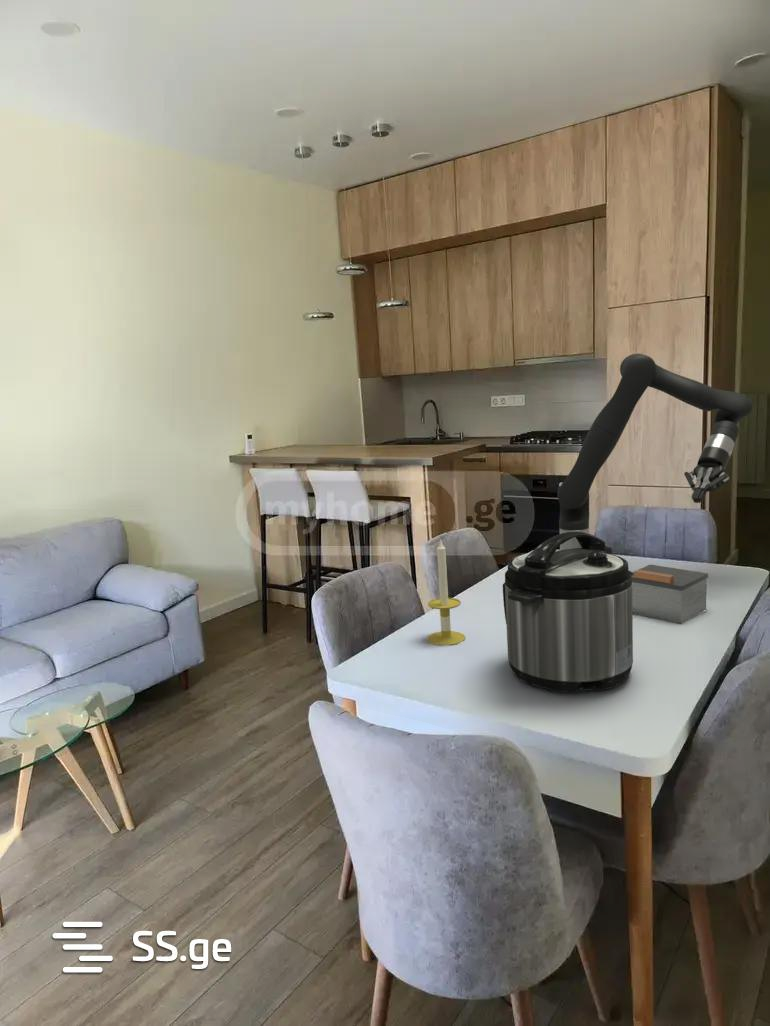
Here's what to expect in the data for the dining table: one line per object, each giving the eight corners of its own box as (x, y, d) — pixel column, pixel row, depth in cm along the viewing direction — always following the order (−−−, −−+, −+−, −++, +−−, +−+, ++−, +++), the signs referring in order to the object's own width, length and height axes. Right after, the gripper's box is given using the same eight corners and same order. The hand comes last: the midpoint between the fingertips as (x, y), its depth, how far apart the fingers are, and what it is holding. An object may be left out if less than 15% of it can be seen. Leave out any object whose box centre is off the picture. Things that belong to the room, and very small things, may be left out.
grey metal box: (624, 611, 186) (624, 580, 185) (650, 599, 195) (650, 569, 194) (681, 623, 174) (681, 590, 173) (706, 610, 183) (706, 578, 181)
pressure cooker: (606, 641, 166) (604, 515, 161) (664, 690, 139) (664, 540, 133) (487, 654, 164) (481, 527, 158) (522, 706, 136) (516, 554, 131)
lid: (622, 580, 185) (622, 569, 184) (650, 568, 194) (650, 558, 194) (681, 590, 172) (681, 579, 172) (708, 577, 181) (708, 567, 181)
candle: (449, 648, 169) (443, 544, 164) (419, 640, 176) (412, 540, 171) (473, 636, 176) (468, 536, 171) (443, 629, 183) (437, 532, 178)
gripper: (689, 445, 199) (668, 492, 194) (735, 445, 189) (715, 495, 183) (698, 460, 203) (678, 507, 198) (743, 461, 193) (724, 510, 188)
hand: (696, 501), depth 191 cm, fingers closed
